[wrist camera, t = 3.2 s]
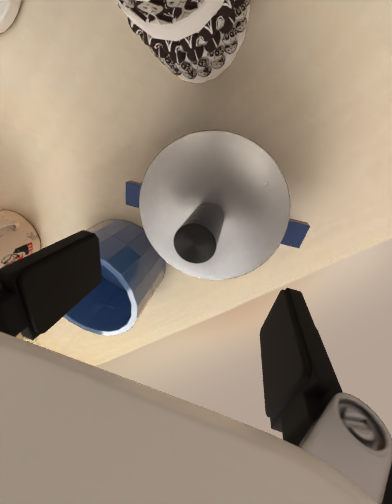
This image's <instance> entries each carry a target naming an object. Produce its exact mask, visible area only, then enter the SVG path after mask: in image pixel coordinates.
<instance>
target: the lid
mask: <svg viewBox="0 0 392 504" xmlns="http://www.w3.org/2000/svg"><path fill="white" fill-rule="evenodd" d="M139 211H140V217H141V222H142V225H143V228H144V231H145V233H146V236H147V238H148V240H149V241H150V243H151V245H152V246H153V248H154V249H155V250H156V251H157V253H158V254H159V255H160V256H161V257H162V258H163V259H164V260H165V261H166V262H167V263H169V264H170V265H171V266H173V267H174V268H176V269H178V270H179V271H181V272H183V273H186V274H188V275H191V276H194V277H197V278H201V279H208V280H225V279H231V278H236V277H239V276H242V275H245V274H247V273H249V272H251V271H253V270H255V269H256V268H258V267H259V266H261V265H262V264H263V263H264V262H265V261H267V260H268V259H269V258H270V257H271V255H272V254H273V253H274V252H275V251H276V249H277V248H278V246H279V245H280V243H281V241H282V239H283V237H284V235H285V232H286V229H287V226H288V222H289V217H290V197H289V192H288V187H287V184H286V181H285V178H284V176H283V174H282V172H281V170H280V168H279V167H278V165H277V163H276V162H275V161H274V160H273V158H272V157H271V156H270V155H269V154H268V153H267V152H266V151H265V150H264V149H263V148H262V147H261V146H259V145H258V144H256V143H255V142H253V141H252V140H250V139H248V138H246V137H243V136H241V135H239V134H235V133H232V132H228V131H220V130H204V131H199V132H194V133H191V134H188V135H185V136H182V137H180V138H179V139H177V140H175V141H173V142H172V143H170V144H169V145H168V146H166V147H165V148H164V149H163V150H162V151H161V152H160V153H159V154H158V155H157V156H156V157H155V159H154V160H153V161H152V163H151V164H150V166H149V168H148V170H147V171H146V173H145V176H144V179H143V181H142V185H141V190H140V197H139Z"/></svg>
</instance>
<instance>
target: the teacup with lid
mask: <svg viewBox="0 0 392 504" xmlns="http://www.w3.org/2000/svg"><path fill="white" fill-rule="evenodd" d="M39 250H40V239H39V237H38V234H37V232H36V231H35V229H34V228H33V226H32V225H31V224H30V223H29V222H28V221H27V220H26V219H25V218H23V217H22V216H20V215H19V214H17V213H15V212H12V211H8V210H2V211H0V268H2V267H4V266H6V265H9V264H11V263H13V262H15V261H17V260H19V259H21V258H24V257H26V256H28V255H30V254H32V253H34V252H37V251H39Z"/></svg>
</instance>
